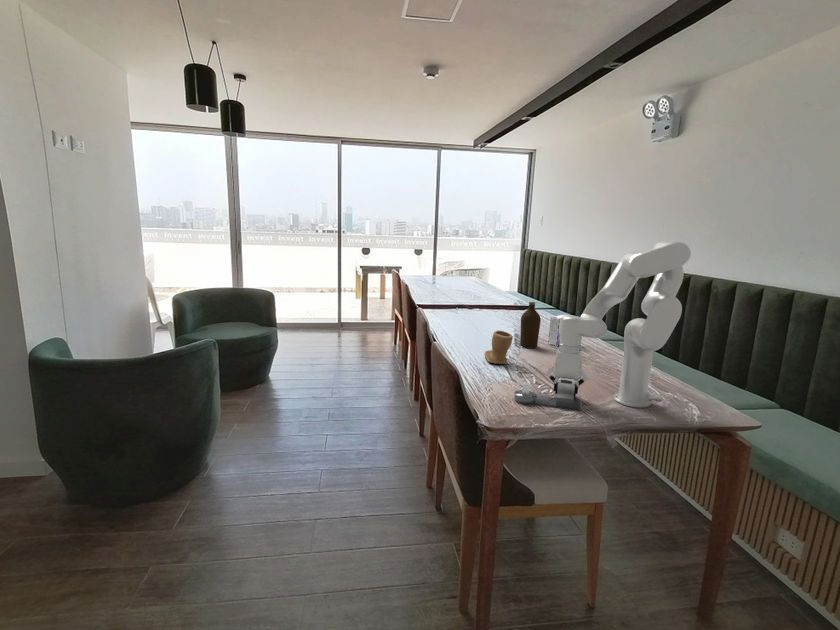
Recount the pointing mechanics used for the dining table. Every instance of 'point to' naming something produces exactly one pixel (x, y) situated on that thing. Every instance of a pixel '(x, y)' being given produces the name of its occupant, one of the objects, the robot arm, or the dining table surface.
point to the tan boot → (499, 347)
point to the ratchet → (544, 399)
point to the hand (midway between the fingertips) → (565, 393)
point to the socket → (566, 388)
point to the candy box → (555, 329)
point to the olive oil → (530, 327)
